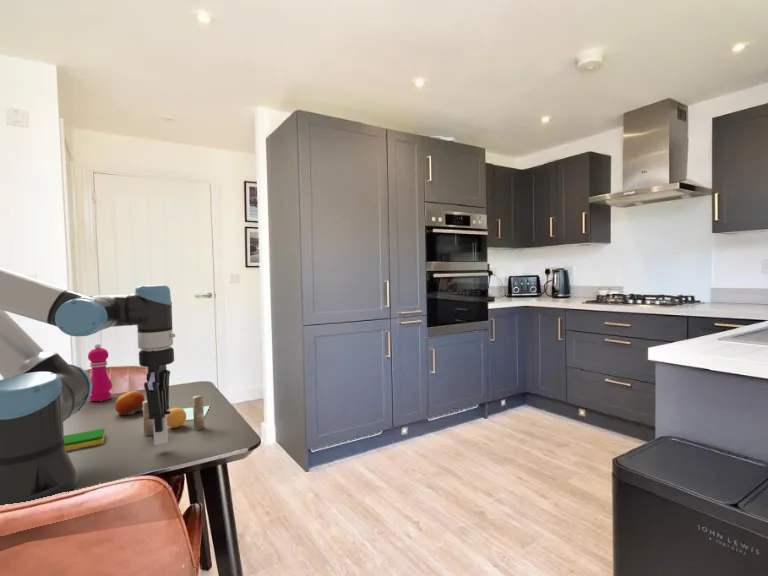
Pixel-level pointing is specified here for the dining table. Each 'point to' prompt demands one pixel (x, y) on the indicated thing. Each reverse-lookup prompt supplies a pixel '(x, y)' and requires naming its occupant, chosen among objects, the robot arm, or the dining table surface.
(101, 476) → the dining table surface
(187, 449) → the dining table surface
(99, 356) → the pepper mill
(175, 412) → the ball
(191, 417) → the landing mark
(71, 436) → the dish sponge
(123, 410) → the fruit
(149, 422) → the left post
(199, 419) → the right post
